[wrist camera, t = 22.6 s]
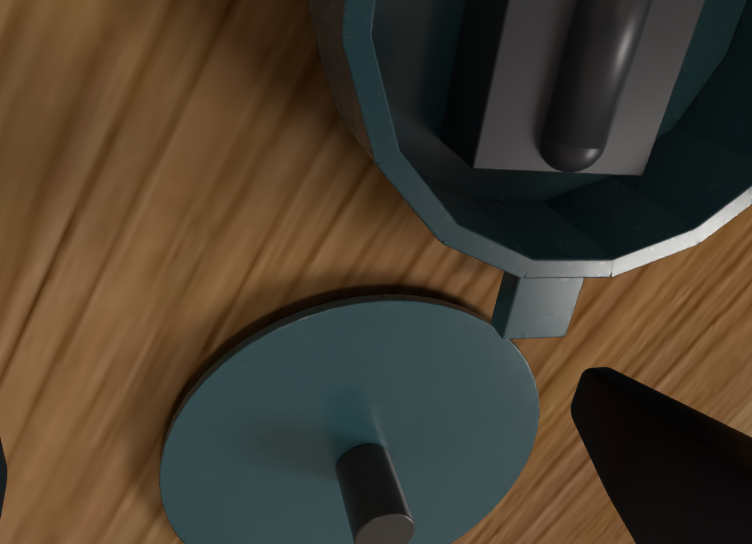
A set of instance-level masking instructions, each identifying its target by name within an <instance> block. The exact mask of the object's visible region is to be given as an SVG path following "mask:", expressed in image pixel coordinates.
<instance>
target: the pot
mask: <svg viewBox="0 0 752 544" xmlns="http://www.w3.org/2000/svg"><path fill="white" fill-rule="evenodd" d="M465 2H466V0H310V5H309V12H310V19H311V22H312V26H313V29H314V32H315V37H316V41H317V45H318V49H319V54H320V58H321V62H322V66H323V68H324V71H325V74H326V77H327V79H328V82H329V85H330V87H331V90H332V93H333V96H334V100H335V103H336V107H337V110H338V113H339V115H340V117H341V119H342V120H343V122H344V123H345V124H346V126H347V127H348V128H349V130H350V131H351V132H352V134H353V135H354V136H355V138H356V139H357V140H358V142H359V143H360V144H361V146H362V147H363V149H364V150H365V151H366V153H367V154H368V155H369V157H370V158H371V159H372V161H373V162H374V163H375V165H376V166H377V167H378V168H379V170H380V171H381V172H382V173H383V174H384V176H385V177H386V178H387V179H388V180H389V182H390V183H391V184H392V185H393V186H394V188H395V189H396V190H397V191H398V192H399V194H400V195H401V196H402V197H403V198H404V200H405V201H406V202H407V203H408V205H409V206H410V207H411V208H412V209H413V211H414V212H415V213H416V214H417V215H418V217H419V218H420V219H421V220H422V221H423V223H424V224H425V225H426V226H427V227H428V229H429V230H430V231H431V232H432V233H433V235H434V236H435V237H436V238H437V239H438V241H440V242H441V243H442V244H444V245H446V246H448V247H451V248H453V249H455V250H457V251H460V252H462V253H464V254H467V255H469V256H471V257H473V258H476V259H478V260H480V261H482V262H485V263H487V264H489V265H492V266H494V267H496V268H498V269H501V270H503V271H504V274H503V277H502V281H501V285H500V289H499V293H498V296H497V300H496V304H495V308H494V312H493V315H492V319H491V325H492V326H493V327H494V329H495V330H496V332H497V333H498V334H499V336H500V337H501V338H502V339H525V338H547V337H564V336H565V335H566V332H567V329H568V326H569V323H570V320H571V317H572V314H573V311H574V308H575V305H576V302H577V299H578V296H579V293H580V290H581V287H582V284H583V281H584V278H608V277H614V276H617V275H619V274H622V273H625V272H627V271H630V270H633V269H635V268H638V267H640V266H643V265H646V264H648V263H651V262H654V261H656V260H659V259H661V258H664V257H667V256H669V255H672V254H675V253H677V252H680V251H683V250H685V249H688V248H690V247H693V246H696V245H697V244H699V243H701V242H702V241H704V240H705V239H706V238H708V237H709V236H710V235H712V234H713V233H714V232H716V231H717V230H718V229H720V228H721V227H722V226H724V225H725V224H726V223H728V222H729V221H730V220H732V219H733V218H734V217H736V216H737V215H738V214H740V213H741V212H742V211H744V210H745V209H746V208H748V207H749V206H750V205H752V0H705V3H704V6H703V8H702V11H701V14H700V17H699V20H698V22H697V25H696V28H695V31H694V34H693V36H692V39H691V42H690V45H689V48H688V50H687V53H686V56H685V59H684V62H683V64H682V67H681V70H680V73H679V75H678V78H677V81H676V84H675V87H674V89H673V92H672V95H671V98H670V101H669V103H668V106H667V109H666V112H665V115H664V117H663V120H662V123H661V126H660V129H659V131H658V134H657V137H656V140H655V143H654V145H653V148H652V151H651V154H650V157H649V159H648V162H647V165H646V168H645V171H644V173H643V175H642V176H622V175H600V174H577V173H555V172H533V171H511V170H488V169H472V168H471V167H470V166H469V165H467V164H466V163H465V162H464V161H463V160H462V159H461V158H460V157H458V156H457V155H456V154H455V153H454V152H453V151H452V150H451V149H449V148H448V147H447V146H446V145H445V144H444V143H443V142H442V141H441V140H440V137H441V132H442V126H443V121H444V115H445V110H446V105H447V99H448V94H449V89H450V83H451V78H452V72H453V67H454V62H455V56H456V51H457V45H458V40H459V35H460V29H461V24H462V19H463V13H464V8H465Z"/></svg>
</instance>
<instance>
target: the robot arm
mask: <svg viewBox="0 0 752 544" xmlns="http://www.w3.org/2000/svg"><path fill="white" fill-rule="evenodd" d="M571 415H572V419H573V421H574V423H575V425H576V427H577V430H578V432H579V434H580V436H581V438H582V440H583V443H584V445H585V447H586V449H587V451H588V453H589V456H590V458H591V460H592V462H593V464H594V466H595V469H596V471H597V473H598V475H599V477H600V479H601V481H602V484H603V486H604V488H605V490H606V492H607V494H608V496H609V498H610V499H611V501H612V503H613V505H614V507H615V508H616V510H617V512H618V514H619V515H620V517H621V519H622V520H623V522H624V524H625V526H626V527H627V529H628V531H629V532H630V534H631V536H632V538H633V539H634V541H635V543H636V544H752V437H750V436H748V435H746V434H744V433H742V432H740V431H738V430H736V429H733V428H731V427H729V426H727V425H725V424H723V423H721V422H719V421H717V420H715V419H713V418H711V417H709V416H707V415H705V414H703V413H701V412H699V411H697V410H695V409H693V408H691V407H689V406H687V405H685V404H683V403H681V402H679V401H677V400H675V399H672V398H670V397H668V396H666V395H664V394H662V393H660V392H658V391H656V390H654V389H652V388H650V387H648V386H646V385H644V384H642V383H640V382H638V381H636V380H634V379H632V378H630V377H628V376H626V375H624V374H622V373H620V372H618V371H616V370H614V369H611V368H609V367H597V368H588V369H586V370H585V371H584V372H583V373H582V375H581V377H580V380H579V383H578V386H577V389H576V392H575V395H574V397H573V400H572V403H571ZM6 484H7V465H6V460H5V456H4V451H3V447H2V443H1V438H0V518H1V512H2V507H3V501H4V495H5V490H6Z"/></svg>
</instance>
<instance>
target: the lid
mask: <svg viewBox="0 0 752 544" xmlns="http://www.w3.org/2000/svg"><path fill="white" fill-rule="evenodd" d="M538 421H539V396H538V391H537V386H536V382H535V378H534V376H533V373H532V371H531V369H530V367H529V364H528V362H527V360H526V359H525V358H524V356H523V355H522V353H521V352H520V350H519V349H518V348H517V346H516V345H515V344H514V342H513V341H512V340H511V339H502V338H501V337H500V336H499V334H498V333H497V332H496V330H495V329H494V327H493V326H492V325H491V322H490V321H489V320H487V319H486V318H484V317H483V316H481V315H479V314H477V313H475V312H473V311H471V310H469V309H466V308H464V307H462V306H459V305H456V304H453V303H449V302H446V301H443V300H440V299H434V298H428V297H422V296H416V295H398V294H381V295H369V296H357V297H352V298H347V299H342V300H337V301H332V302H328V303H324V304H321V305H318V306H315V307H311V308H308V309H305V310H302V311H299V312H297V313H295V314H292V315H290V316H288V317H285V318H283V319H281V320H278V321H276V322H274V323H272V324H270V325H268V326H267V327H265V328H263V329H261V330H260V331H258V332H256V333H254V334H253V335H251V336H249V337H247V338H246V339H245V340H243V341H242V342H241V343H239V344H238V345H236V346H235V347H234V348H232V349H231V350H230V351H228V352H227V353H225V354H224V355H223V356H222V357H221V358H220V359H219V360H218V361H217V362H216V363H214V364H213V365H212V366H211V367H210V368H209V369H208V370H207V371H206V372H205V373H204V374H203V375H202V376H201V378H200V379H199V380H198V381H197V382H196V384H195V385H194V386H193V387H192V388H191V390H190V391H189V392H188V393H187V395H186V396H185V398H184V400H183V401H182V403H181V405H180V406H179V408H178V409H177V411H176V413H175V414H174V416H173V419H172V421H171V424H170V426H169V428H168V431H167V433H166V436H165V439H164V444H163V448H162V453H161V457H160V477H159V486H160V493H161V499H162V504H163V507H164V510H165V512H166V515H167V518H168V520H169V522H170V524H171V525H172V527H173V529H174V530H175V532H176V534H177V535H178V537H179V538H180V539H181V540H182V541H183V542H184V543H185V544H451V543H452V542H454V541H455V540H457V539H458V538H460V537H461V536H462V535H464V534H465V533H466V532H468V531H469V530H470V529H471V528H473V527H474V526H475V525H476V524H478V523H479V522H480V521H481V520H482V519H483V518H484V517H485V516H486V515H487V514H488V513H490V512H491V511H492V510H493V509H494V507H495V506H496V505H497V504H498V503H499V502H500V501H501V500H502V498H503V497H504V496H505V495H506V494H507V492H508V491H509V490H510V488H511V487H512V485H513V484H514V483H515V481H516V480H517V478H518V477H519V475H520V473H521V471H522V469H523V468H524V466H525V464H526V462H527V460H528V457H529V455H530V453H531V450H532V448H533V445H534V441H535V437H536V433H537V430H538Z"/></svg>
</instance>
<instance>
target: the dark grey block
mask: <svg viewBox="0 0 752 544" xmlns="http://www.w3.org/2000/svg"><path fill="white" fill-rule="evenodd" d="M704 3H705V0H466V2H465V8H464V13H463V19H462V24H461V29H460V35H459V40H458V45H457V51H456V56H455V62H454V67H453V72H452V78H451V83H450V89H449V94H448V99H447V105H446V110H445V115H444V121H443V126H442V132H441V137H440V140H441V141H442V142H443V143H444V144H445V145H446V146H447V147H448V148H449V149H451V150H452V151H453V152H454V153H455V154H456V155H457V156H458V157H460V158H461V159H462V160H463V161H464V162H465V163H466V164H467V165H469V166H470V167H471V168H472V169H488V170H511V171H533V172H555V173H577V174H600V175H622V176H642V175H643V173H644V171H645V168H646V165H647V162H648V159H649V157H650V154H651V151H652V148H653V145H654V143H655V140H656V137H657V134H658V131H659V129H660V126H661V123H662V120H663V117H664V115H665V112H666V109H667V106H668V103H669V101H670V98H671V95H672V92H673V89H674V87H675V84H676V81H677V78H678V75H679V73H680V70H681V67H682V64H683V62H684V59H685V56H686V53H687V50H688V48H689V45H690V42H691V39H692V36H693V34H694V31H695V28H696V25H697V22H698V20H699V17H700V14H701V11H702V8H703V6H704Z"/></svg>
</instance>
